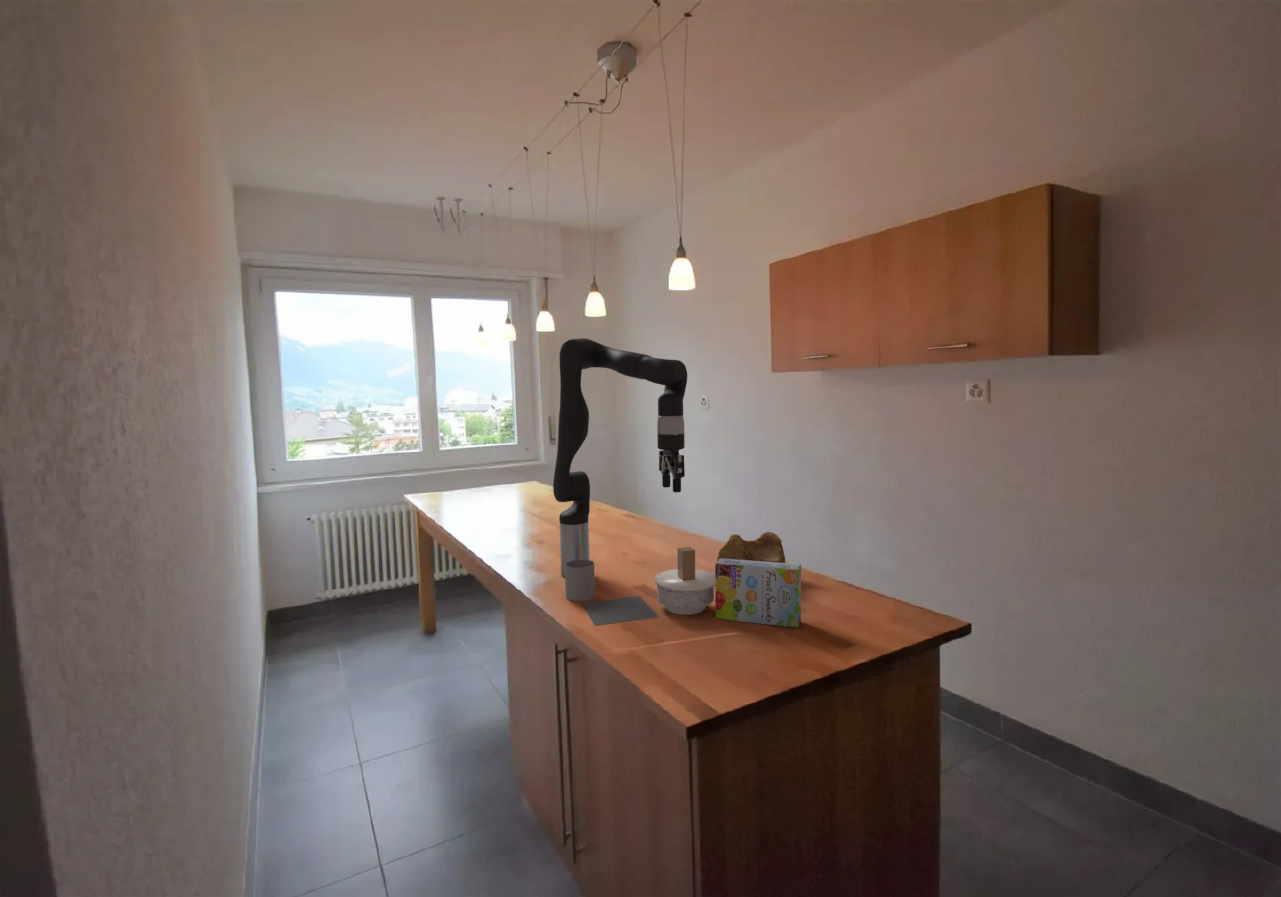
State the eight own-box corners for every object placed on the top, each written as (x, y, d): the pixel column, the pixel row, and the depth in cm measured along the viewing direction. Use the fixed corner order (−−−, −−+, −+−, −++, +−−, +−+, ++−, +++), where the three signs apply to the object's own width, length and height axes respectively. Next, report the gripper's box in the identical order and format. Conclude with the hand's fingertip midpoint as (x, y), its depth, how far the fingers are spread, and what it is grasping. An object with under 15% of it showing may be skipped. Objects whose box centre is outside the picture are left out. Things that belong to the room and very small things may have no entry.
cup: (590, 603, 172) (589, 568, 171) (561, 601, 173) (560, 567, 172) (598, 593, 180) (597, 560, 179) (571, 591, 182) (570, 558, 181)
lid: (646, 575, 171) (646, 544, 170) (702, 568, 176) (702, 538, 175) (667, 594, 155) (667, 560, 154) (729, 587, 160) (729, 554, 159)
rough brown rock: (745, 602, 173) (750, 551, 170) (708, 582, 187) (712, 534, 184) (804, 589, 185) (808, 541, 183) (765, 571, 199) (769, 526, 197)
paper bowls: (649, 616, 162) (648, 586, 161) (668, 597, 176) (668, 570, 175) (705, 623, 156) (704, 593, 155) (720, 603, 170) (720, 575, 169)
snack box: (801, 621, 157) (801, 563, 155) (799, 629, 151) (799, 569, 150) (719, 612, 164) (719, 556, 162) (714, 619, 159) (714, 562, 157)
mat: (581, 604, 171) (581, 603, 171) (639, 597, 176) (639, 595, 176) (595, 627, 155) (595, 625, 155) (659, 618, 160) (659, 616, 160)
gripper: (650, 430, 176) (650, 486, 178) (666, 434, 163) (667, 494, 164) (674, 429, 179) (675, 485, 180) (693, 433, 165) (693, 492, 167)
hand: (671, 489), depth 172 cm, fingers open, 8 cm apart
